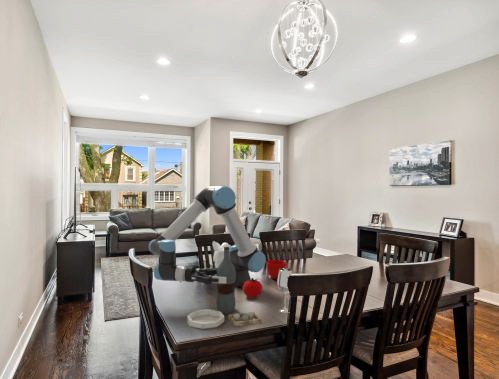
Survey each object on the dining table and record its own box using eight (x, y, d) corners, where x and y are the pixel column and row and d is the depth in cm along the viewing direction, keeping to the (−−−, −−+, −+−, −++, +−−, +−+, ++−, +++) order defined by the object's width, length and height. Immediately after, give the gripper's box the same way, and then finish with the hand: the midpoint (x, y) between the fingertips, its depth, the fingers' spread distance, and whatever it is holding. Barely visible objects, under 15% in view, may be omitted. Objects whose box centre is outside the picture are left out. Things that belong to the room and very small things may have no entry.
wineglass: (275, 308, 162) (275, 267, 162) (291, 308, 163) (291, 267, 163) (277, 315, 155) (278, 271, 154) (294, 314, 155) (295, 271, 155)
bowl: (217, 313, 155) (218, 308, 155) (227, 326, 141) (227, 320, 141) (185, 317, 150) (185, 311, 150) (191, 331, 136) (191, 325, 136)
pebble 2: (246, 319, 147) (247, 313, 147) (249, 322, 144) (249, 315, 144) (240, 320, 146) (240, 313, 146) (242, 323, 143) (242, 316, 143)
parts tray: (253, 316, 153) (253, 311, 153) (261, 324, 144) (261, 319, 144) (228, 319, 148) (228, 315, 148) (234, 327, 140) (234, 323, 140)
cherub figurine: (226, 271, 232) (227, 239, 232) (232, 275, 221) (233, 242, 221) (209, 272, 228) (210, 239, 228) (214, 277, 216) (215, 242, 216)
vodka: (217, 306, 164) (218, 245, 163) (236, 307, 164) (236, 245, 163) (214, 314, 154) (215, 249, 154) (234, 314, 154) (235, 249, 154)
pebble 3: (252, 317, 150) (252, 310, 150) (254, 319, 148) (254, 312, 147) (245, 317, 149) (245, 311, 149) (248, 320, 146) (248, 313, 146)
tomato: (239, 295, 182) (240, 276, 182) (257, 293, 186) (257, 275, 186) (246, 301, 172) (247, 281, 172) (265, 299, 176) (265, 280, 176)
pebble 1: (238, 318, 148) (238, 311, 148) (241, 321, 146) (241, 314, 145) (232, 319, 147) (232, 312, 147) (234, 322, 144) (234, 315, 144)
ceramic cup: (280, 283, 206) (281, 266, 205) (261, 277, 218) (262, 261, 218) (294, 279, 214) (295, 263, 214) (275, 273, 227) (276, 259, 227)
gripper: (194, 274, 174) (234, 277, 171) (176, 289, 150) (222, 292, 146) (195, 260, 174) (235, 262, 171) (176, 272, 149) (223, 275, 146)
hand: (229, 276), depth 158 cm, fingers open, 13 cm apart
